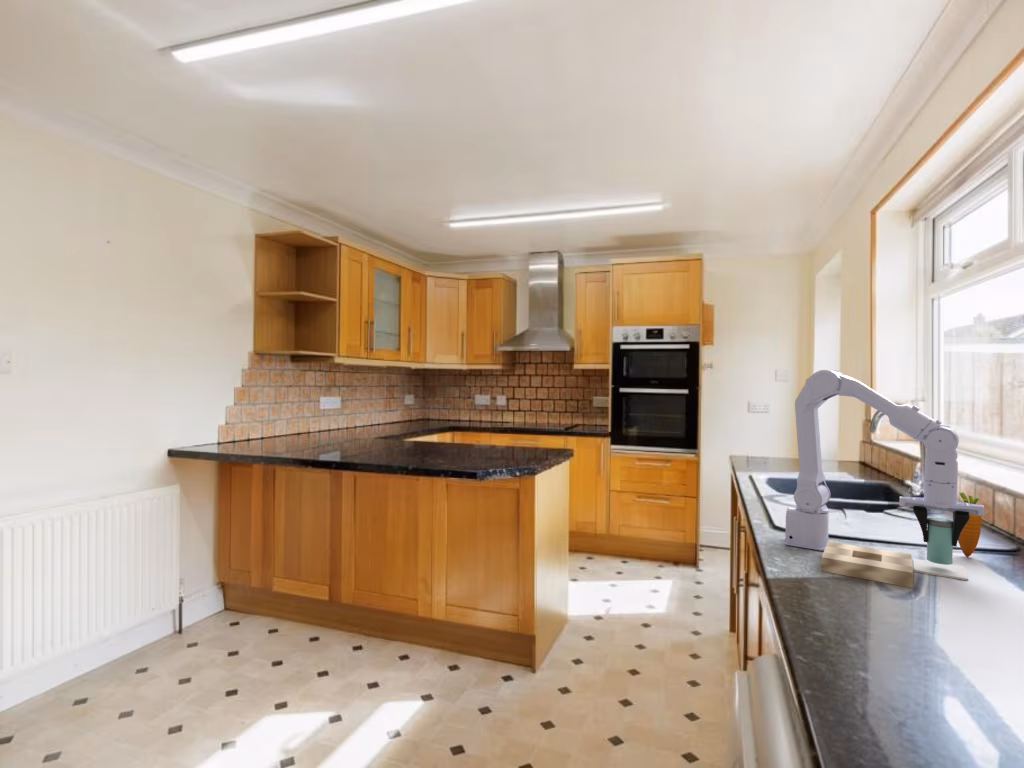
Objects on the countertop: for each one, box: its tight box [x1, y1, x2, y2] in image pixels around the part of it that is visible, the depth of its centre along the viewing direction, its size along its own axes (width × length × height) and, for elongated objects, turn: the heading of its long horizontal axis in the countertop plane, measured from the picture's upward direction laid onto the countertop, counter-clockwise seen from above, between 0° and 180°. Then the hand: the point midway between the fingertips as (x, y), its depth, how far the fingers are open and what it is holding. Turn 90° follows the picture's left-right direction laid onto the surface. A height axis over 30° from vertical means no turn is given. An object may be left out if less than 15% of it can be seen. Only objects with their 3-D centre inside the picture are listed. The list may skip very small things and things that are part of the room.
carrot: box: [957, 491, 982, 558], centre depth 128 cm, size 5×5×15 cm
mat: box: [912, 557, 969, 582], centre depth 119 cm, size 9×9×1 cm
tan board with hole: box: [821, 540, 914, 589], centre depth 119 cm, size 16×14×3 cm
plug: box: [926, 517, 954, 565], centre depth 119 cm, size 4×4×9 cm
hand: (939, 543), depth 119 cm, fingers closed on plug, 4 cm apart
